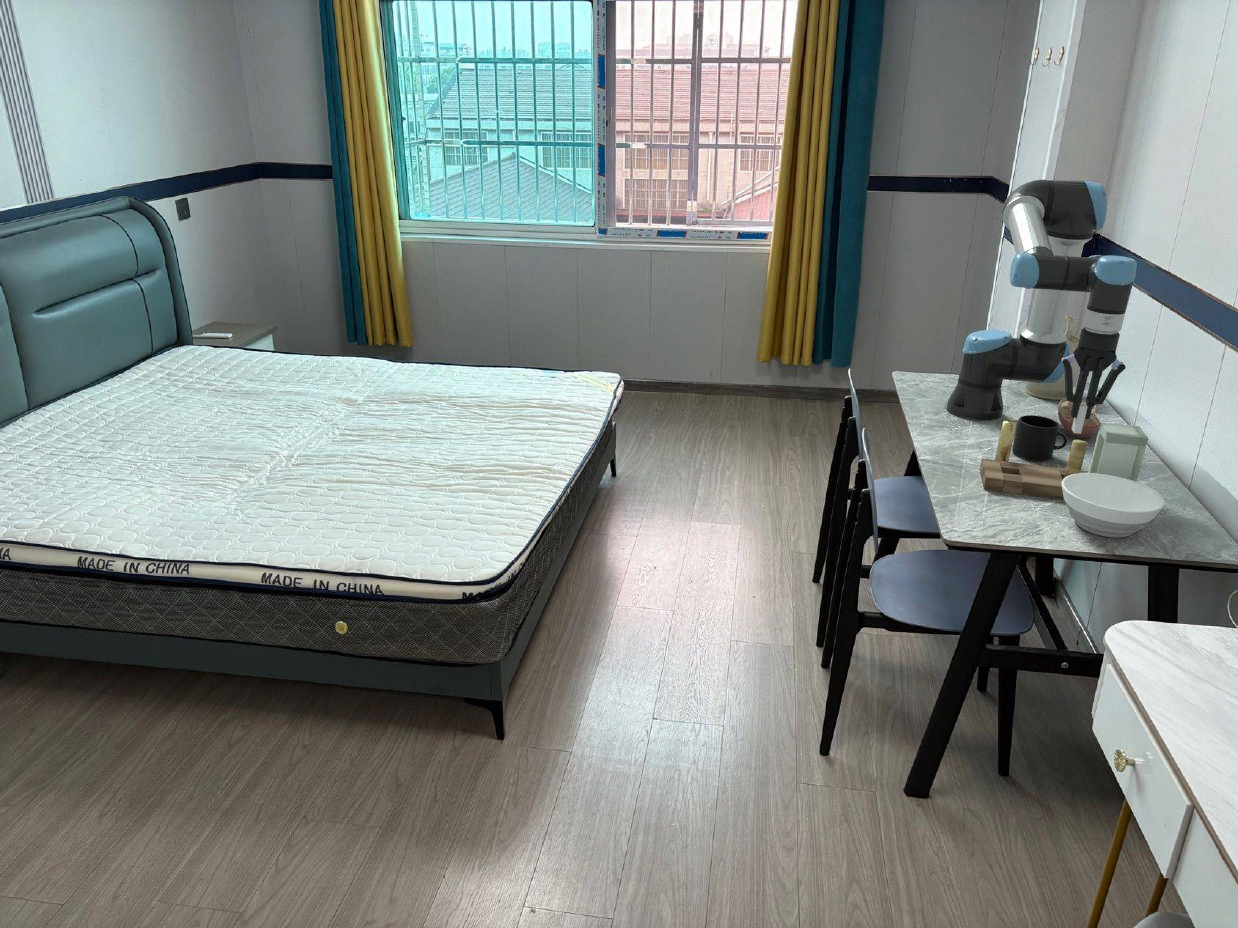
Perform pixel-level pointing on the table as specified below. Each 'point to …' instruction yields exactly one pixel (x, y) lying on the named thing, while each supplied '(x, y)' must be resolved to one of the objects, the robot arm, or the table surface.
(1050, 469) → the wooden slotted block
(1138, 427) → the housing
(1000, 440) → the pin
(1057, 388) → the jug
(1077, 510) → the bowl
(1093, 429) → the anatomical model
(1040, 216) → the robot arm
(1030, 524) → the table surface
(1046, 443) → the mug
